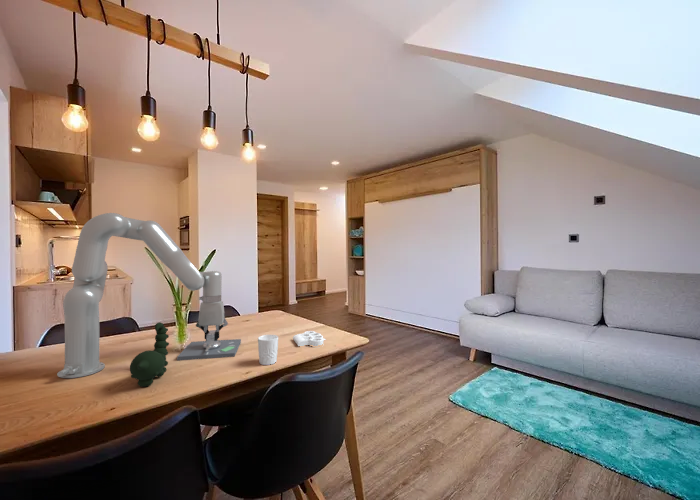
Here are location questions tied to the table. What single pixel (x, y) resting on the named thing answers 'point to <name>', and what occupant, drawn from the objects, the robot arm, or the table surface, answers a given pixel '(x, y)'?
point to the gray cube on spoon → (211, 341)
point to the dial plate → (197, 351)
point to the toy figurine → (151, 359)
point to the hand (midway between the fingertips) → (211, 339)
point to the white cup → (267, 349)
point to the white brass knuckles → (309, 338)
